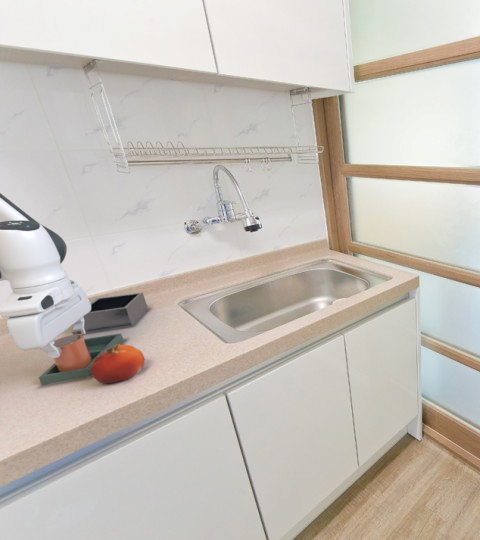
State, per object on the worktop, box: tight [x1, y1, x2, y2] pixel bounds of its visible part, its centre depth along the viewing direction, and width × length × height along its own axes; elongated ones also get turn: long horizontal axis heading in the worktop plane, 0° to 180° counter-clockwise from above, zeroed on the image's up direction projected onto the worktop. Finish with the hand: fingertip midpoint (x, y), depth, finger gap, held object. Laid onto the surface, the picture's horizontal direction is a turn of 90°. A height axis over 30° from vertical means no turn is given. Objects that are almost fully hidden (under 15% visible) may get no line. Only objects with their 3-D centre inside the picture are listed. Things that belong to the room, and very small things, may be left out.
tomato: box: [91, 343, 146, 384], centre depth 77 cm, size 9×9×8 cm
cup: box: [52, 334, 92, 372], centre depth 80 cm, size 6×6×8 cm
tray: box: [38, 333, 124, 386], centre depth 84 cm, size 9×17×3 cm, turn 18°
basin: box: [83, 292, 149, 335], centre depth 104 cm, size 13×13×7 cm
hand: (69, 345), depth 79 cm, fingers open, 8 cm apart
